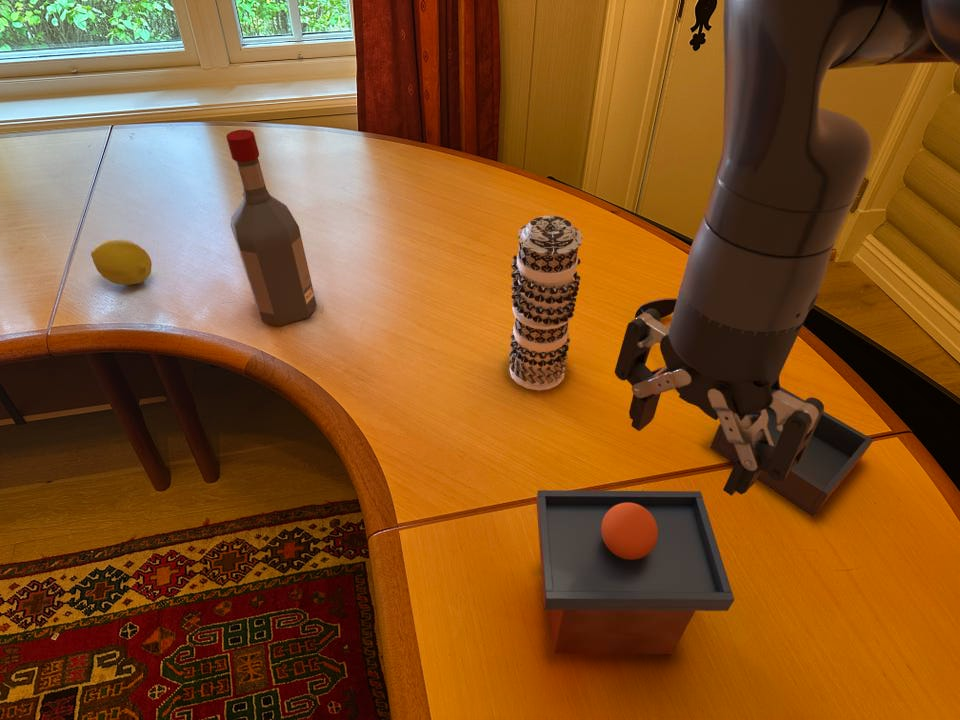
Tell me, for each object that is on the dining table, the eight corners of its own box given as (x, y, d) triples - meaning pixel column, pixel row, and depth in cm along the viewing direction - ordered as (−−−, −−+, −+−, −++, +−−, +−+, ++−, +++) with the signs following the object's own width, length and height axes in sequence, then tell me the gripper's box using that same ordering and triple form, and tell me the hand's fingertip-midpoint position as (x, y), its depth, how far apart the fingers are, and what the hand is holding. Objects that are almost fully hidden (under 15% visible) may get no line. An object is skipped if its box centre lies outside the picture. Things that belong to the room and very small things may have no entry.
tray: (695, 503, 61) (700, 491, 59) (727, 611, 53) (734, 600, 51) (536, 502, 61) (537, 489, 59) (544, 609, 53) (545, 598, 51)
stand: (654, 571, 68) (678, 511, 60) (672, 654, 62) (701, 599, 53) (547, 570, 68) (557, 511, 60) (554, 653, 62) (565, 598, 53)
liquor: (266, 331, 99) (211, 154, 78) (253, 301, 104) (199, 129, 84) (320, 315, 102) (281, 140, 81) (305, 287, 108) (265, 117, 87)
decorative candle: (506, 349, 95) (512, 206, 78) (565, 351, 95) (584, 207, 78) (506, 391, 89) (512, 244, 72) (569, 392, 89) (591, 246, 72)
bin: (858, 462, 79) (874, 439, 76) (813, 516, 73) (828, 494, 70) (758, 402, 87) (768, 379, 84) (709, 446, 81) (719, 424, 78)
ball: (663, 551, 56) (673, 512, 53) (631, 581, 53) (639, 541, 51) (620, 521, 59) (627, 483, 57) (587, 547, 56) (593, 508, 54)
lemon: (169, 278, 109) (153, 240, 104) (131, 300, 104) (112, 261, 99) (130, 261, 113) (113, 223, 108) (92, 282, 109) (72, 243, 103)
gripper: (615, 264, 39) (586, 428, 50) (831, 377, 31) (742, 542, 42) (681, 224, 43) (641, 385, 54) (890, 316, 35) (793, 482, 46)
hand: (685, 454), depth 48 cm, fingers open, 8 cm apart
